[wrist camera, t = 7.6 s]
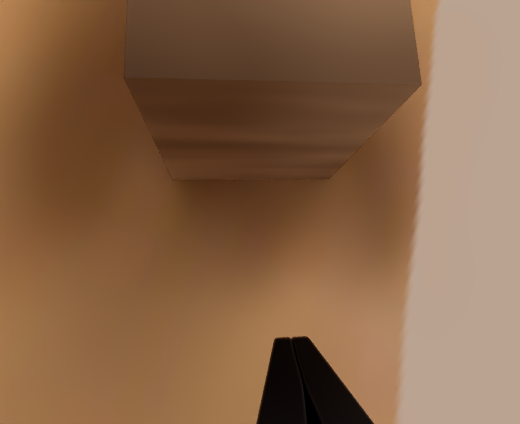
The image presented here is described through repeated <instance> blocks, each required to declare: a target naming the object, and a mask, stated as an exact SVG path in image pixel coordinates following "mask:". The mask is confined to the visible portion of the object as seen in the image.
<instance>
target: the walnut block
mask: <svg viewBox="0 0 520 424" xmlns="http://www.w3.org/2000/svg"><path fill="white" fill-rule="evenodd" d="M124 79H125V81H126V83H127V85H128V87H129V89H130V91H131V93H132V95H133V98H134V100H135V102H136V104H137V106H138V108H139V110H140V112H141V114H142V116H143V118H144V121H145V123H146V125H147V127H148V129H149V131H150V133H151V135H152V137H153V139H154V142H155V144H156V146H157V148H158V150H159V152H160V154H161V156H162V158H163V160H164V162H165V165H166V167H167V169H168V171H169V173H170V175H171V177H172V179H173V180H212V179H329V178H330V177H331V176H332V175H333V174H334V173H335V172H336V171H337V170H338V169H339V168H340V167H341V166H342V165H343V164H344V163H345V162H346V161H347V160H348V159H349V158H350V157H351V156H352V155H353V154H354V153H355V152H356V151H357V150H358V149H359V148H360V147H361V146H362V145H363V144H364V143H365V142H366V141H367V140H368V139H369V138H370V137H371V136H372V135H373V134H374V133H375V132H376V131H377V130H378V129H379V128H380V127H381V126H382V125H383V123H384V122H385V121H386V120H387V119H388V118H389V117H390V116H391V115H392V114H393V113H394V112H395V111H396V110H397V109H398V108H399V107H400V106H401V105H402V104H403V103H404V102H405V101H406V100H407V99H408V98H409V97H410V96H411V95H412V94H413V93H414V92H415V91H416V90H417V89H418V88H419V87H420V86H421V85H422V84H421V76H420V69H419V62H418V54H417V47H416V40H415V33H414V25H413V18H412V11H411V3H410V0H127V19H126V41H125V63H124Z"/></svg>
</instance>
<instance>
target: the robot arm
mask: <svg viewBox="0 0 520 424" xmlns="http://www.w3.org/2000/svg"><path fill="white" fill-rule="evenodd" d="M256 424H374V423H373V422H372V420H371V419H370V418H369V416H368V415H367V414H366V412H365V411H364V410H363V408H362V407H361V406H360V405H359V403H358V402H357V401H356V399H355V398H354V397H353V395H352V394H351V393H350V391H349V390H348V389H347V387H346V386H345V385H344V383H343V382H342V381H341V380H340V378H339V377H338V376H337V374H336V373H335V372H334V370H333V369H332V368H331V366H330V365H329V364H328V362H327V361H326V360H325V358H324V357H323V356H322V355H321V353H320V352H319V351H318V349H317V348H316V347H315V345H314V344H313V343H312V341H311V340H310V339H309V338H308V337H306V336H302V337H292V338H291V339H290V338H289V337H281V338H275V339H274V343H273V347H272V352H271V357H270V362H269V366H268V371H267V376H266V381H265V385H264V390H263V395H262V400H261V404H260V409H259V414H258V419H257V423H256Z"/></svg>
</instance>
